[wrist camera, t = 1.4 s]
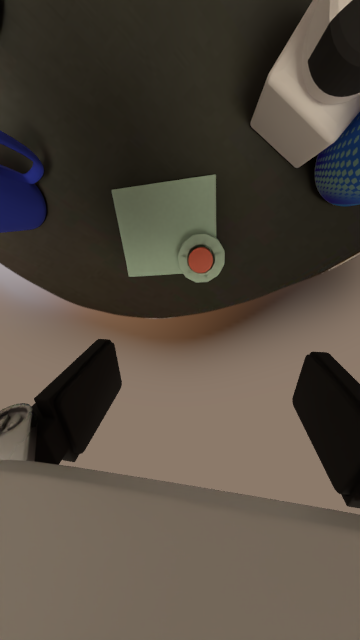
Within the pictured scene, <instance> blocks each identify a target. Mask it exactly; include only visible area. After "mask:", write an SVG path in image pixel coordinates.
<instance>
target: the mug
mask: <svg viewBox="0 0 360 640" xmlns="http://www.w3.org/2000/svg"><path fill="white" fill-rule="evenodd" d="M0 144H3V145H5V146H7V147H9V148H11V149H13V150H15V151H17V152H19V153H21V154H22V155H24V156H26V157H27V158H29V159H30V160H32V161H33V166H32V168H31V169H30V170H29V171H28V172H27V173H25V174H21V173H19V172H17V171H15V170H13V169H10V168H8V167H5V166H3V165H0V233H1V232H12V231H22V230H31V229H35V228H37V227H39V226H40V225H41V224H42V223H43V222H44V220H45V217H46V203H45V200H44V197H43V195H42V193H41V192H40V190H39V188H38V187H37V186H36V185H35V184H34V183H36V182H38V181H39V180H40V179H41V177H42V176H43V174H44V167H43V165H42V163H41V161H40V160H39V159H38V157H37V156H36V155H35V154H34V153H33V152H32V151H31V150H30V149H28V148H27V147H26V146H24V145H23V144H21V143H20V142H18V141H17V140H15V139H14V138H12V137H10V136H9V135H7V134H5V133H4V132H2V131H0Z"/></svg>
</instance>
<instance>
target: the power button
mask: <svg viewBox="0 0 360 640" xmlns="http://www.w3.org/2000/svg"><path fill="white" fill-rule="evenodd" d="M188 263H189V266H190V268H191V269H192V270H193V271H194V272H197V273H204V272H206V271H208V270H209V269H210V268H211V266H212V263H213V256H212V253H211V251H210V250H209V249H207V248H205V247H197V248H195V249H194V250H193V251H192V252H191V253H190V255H189V259H188Z"/></svg>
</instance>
